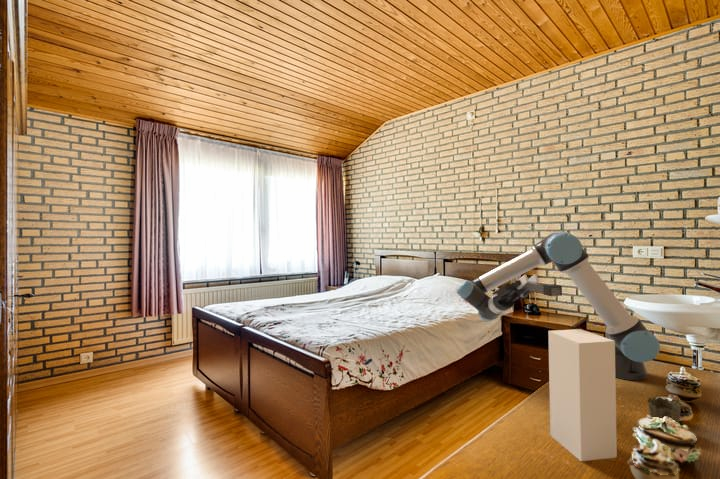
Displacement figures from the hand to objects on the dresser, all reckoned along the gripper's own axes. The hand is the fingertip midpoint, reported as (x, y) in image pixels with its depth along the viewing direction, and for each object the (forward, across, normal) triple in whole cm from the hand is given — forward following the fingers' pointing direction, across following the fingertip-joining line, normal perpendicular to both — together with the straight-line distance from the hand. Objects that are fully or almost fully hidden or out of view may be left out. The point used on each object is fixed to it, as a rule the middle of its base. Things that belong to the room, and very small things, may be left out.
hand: (531, 278), depth 122 cm
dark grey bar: (0, 0, -5) cm, 5 cm away
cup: (-3, -27, -48) cm, 55 cm away
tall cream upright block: (0, +2, -49) cm, 49 cm away
